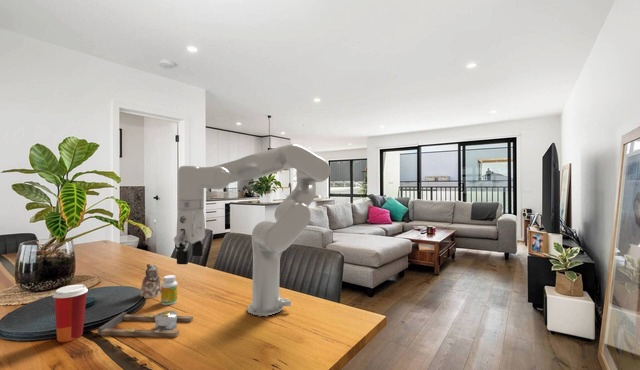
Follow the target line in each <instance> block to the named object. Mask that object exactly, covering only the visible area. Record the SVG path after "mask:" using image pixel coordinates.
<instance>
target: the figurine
mask: <svg viewBox="0 0 640 370" xmlns="http://www.w3.org/2000/svg"><path fill="white" fill-rule="evenodd" d="M161 285H162V284H161V276H159V271H158V267H157V266H156V265H155V264H150V263H147V264H146V270H145V276H144V277H143V279H142V283H141V288H140V294H141V295H143V296H144V298H143V299H152V298H157V297H159V296H161ZM141 295H140V296H141Z"/></svg>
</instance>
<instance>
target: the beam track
mask: <svg viewBox="0 0 640 370" xmlns="http://www.w3.org/2000/svg"><path fill="white" fill-rule="evenodd" d="M156 315H157V314H153V313H152V314H151V313H148V314H127V311H124V312H122V313H120V314H118V315H117V316H115V317H113V318H112V319H110V320H109V321H108V322H105V323H104V324H103V325H101V326H100V327H98V328H97V336H111V337H112V336H114V337H115V336H116V337H119V336H121V337H150V338H151V337H152V338H153V337H159V338H160V337H161V338H178V336H179V335H180V330H176V329H173V330H161V329H157V330H155V329H137V328H114V327H116V326H117V325H119V324H121V323H122V322H123V321H132V322H133V321H135V322H136V321H141V322H155V316H156ZM193 321H194V316H193V315H177V323H178V322H180V323H192V322H193Z"/></svg>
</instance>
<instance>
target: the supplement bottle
mask: <svg viewBox="0 0 640 370" xmlns="http://www.w3.org/2000/svg"><path fill="white" fill-rule="evenodd" d="M160 285H161V294H160V304H161V305H163V306H168V305H169V306H170V305H174V304H175V303H177V302H178V281H177V280H176V275H174V274H169V275H165V276H163V282H162V283H161V284H160Z"/></svg>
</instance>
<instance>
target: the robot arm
mask: <svg viewBox="0 0 640 370" xmlns="http://www.w3.org/2000/svg"><path fill="white" fill-rule="evenodd" d="M287 169H295V170H296V171H295V172H296V185H295V187H294V189H293V190H292V191H291V192H290V193H289V194H288V195H287V196H286V197H285V199H283V200H282V201H281V202H280V203H279V204H278V205H277V207H276V208H275V210H274V216H273V217H274V219H275V222H272V221H271V220H270V221H268V220H264V221H260V222H259V223H257V224H256V225H255V226H254V228H253V229H252V233H251V244H252V245H251V246H252V247H251V248H252V255H253V256H252V288H251V290H252V293H251V294H252V295H251V296H252V298H251V303H249V305H248V306H247V312H248V313H249V314H250V313H251V314H250V315H252V314H253V315H252V316H254V315H258V316H257V317H261V316H265V317H267V316H266V315H272V314H275V313H278V312H280V311H281V310H282V309H283V310H284V307H291V306H292V300H290V299H289V298H283V297H281V296H282V294H281V293H280V272H281V271H280V270H281V269H280V267H281V256H280V253H282V252H284V251H286V250H287V249H288V248H289V247H290V246H291V245H292V244H293V243H294V242H295V241H296V240H297V238H298V237H299V236H300V235H301V234H302V233H303V232H304V231H305V229H306V228H307V226H308V225H309V223H310V221H311V215H312V214H311V209H310V208H309V206H310V205H311V204H312V203H313V201H314V200H315V197H316V193H317V192H316V189H317V186H316V185H317V184H316V183H323V182H325V181H327V180H328V178H329V177H330V175H331V167H330V165H329V163H328V161H326V160H325V159H324V158H323V157H321V156H318V155H317V154H315V153H314V152H312V151H310V150H309V149H307V148H305V147H304V146H302V145H299V144H296V143H292V144H287V145H282V146H279V147H275V148H271V149H268V150H263V151H261V152H257V153H252V154H249V155H247V156H243V157H241V158H238V159H235V160H232V161H228V162H224V163H221V164H217V165H214V166H198V165H182V166H179V167H178V170H177V211H178V212H177V221H176V235H175V236H174V239H173V241H174V248H175V251H176V264H177V265H188V263H189V250H188V247H189V245H190V244H191V245H192V251H191V252H192V256H193V257H202V256H203V249H204V248H203V247H204V245H203V244H204V239H205V238H206V222H205V221H206V219H205V212H204V211H205V209H204V208H205V206H204V205H205V200H204V199H205V197H204V196H205V189H210V190H223V189H225V188H227V187H228V186H229V185H230V184H232V183H236V182H240V181H245V180H255V179H260V178H263V177H266V176H269V175H272V174H275V173H278V172H281V171H284V170H287ZM283 310H282V311H283ZM282 311H281V312H282ZM281 312H280V313H281ZM278 314H279V313H278ZM272 316H273V315H272Z"/></svg>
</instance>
